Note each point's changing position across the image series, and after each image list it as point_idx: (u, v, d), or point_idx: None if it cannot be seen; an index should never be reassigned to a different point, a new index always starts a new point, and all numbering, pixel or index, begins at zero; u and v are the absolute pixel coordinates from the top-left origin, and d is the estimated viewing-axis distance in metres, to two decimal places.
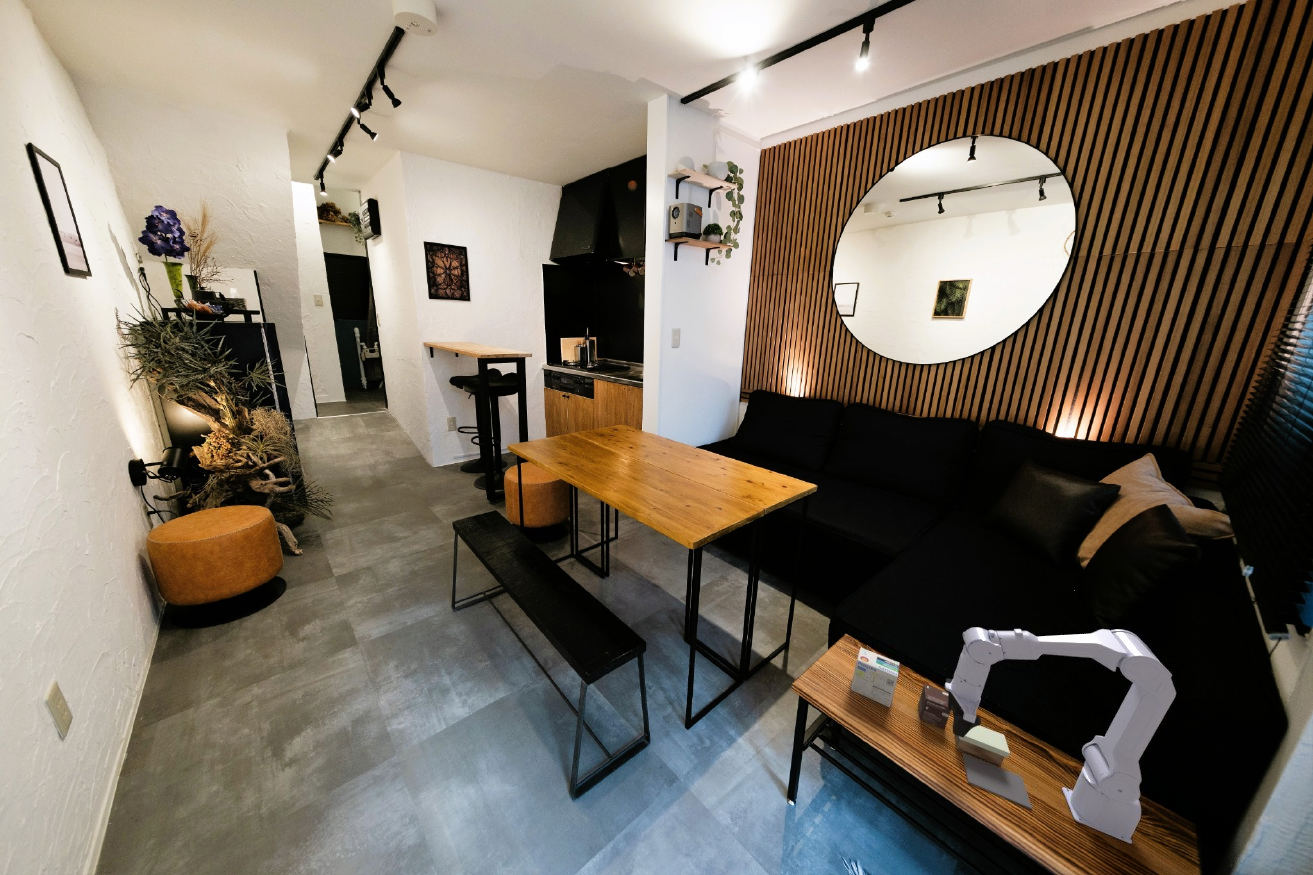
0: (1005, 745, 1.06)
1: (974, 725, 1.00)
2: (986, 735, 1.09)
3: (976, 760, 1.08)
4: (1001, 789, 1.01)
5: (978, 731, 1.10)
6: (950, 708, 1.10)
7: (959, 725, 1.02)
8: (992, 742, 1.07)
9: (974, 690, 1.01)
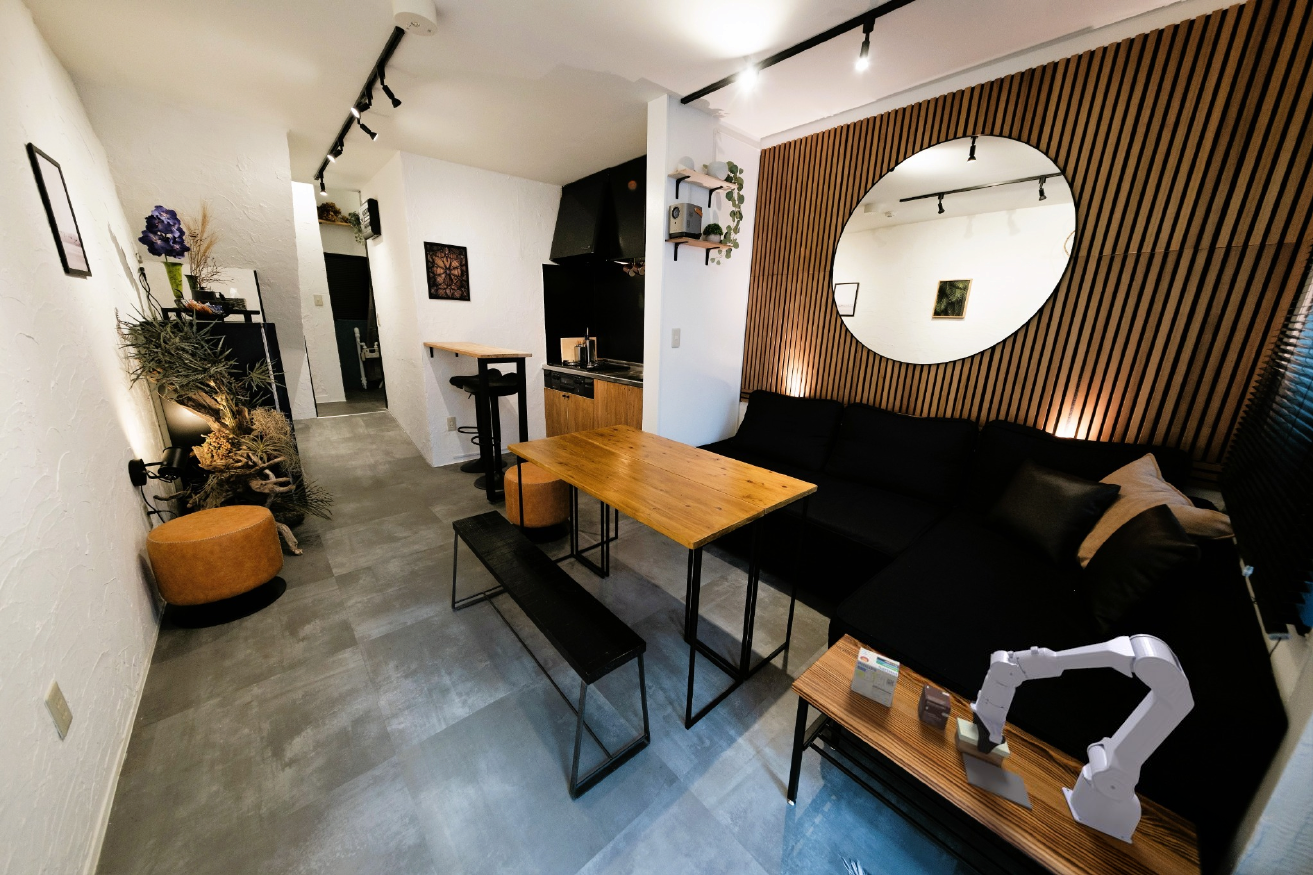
0: (1005, 745, 1.06)
1: (999, 743, 1.03)
2: None
3: (976, 760, 1.08)
4: (1001, 789, 1.01)
5: None
6: None
7: (984, 743, 1.06)
8: None
9: (999, 712, 1.04)
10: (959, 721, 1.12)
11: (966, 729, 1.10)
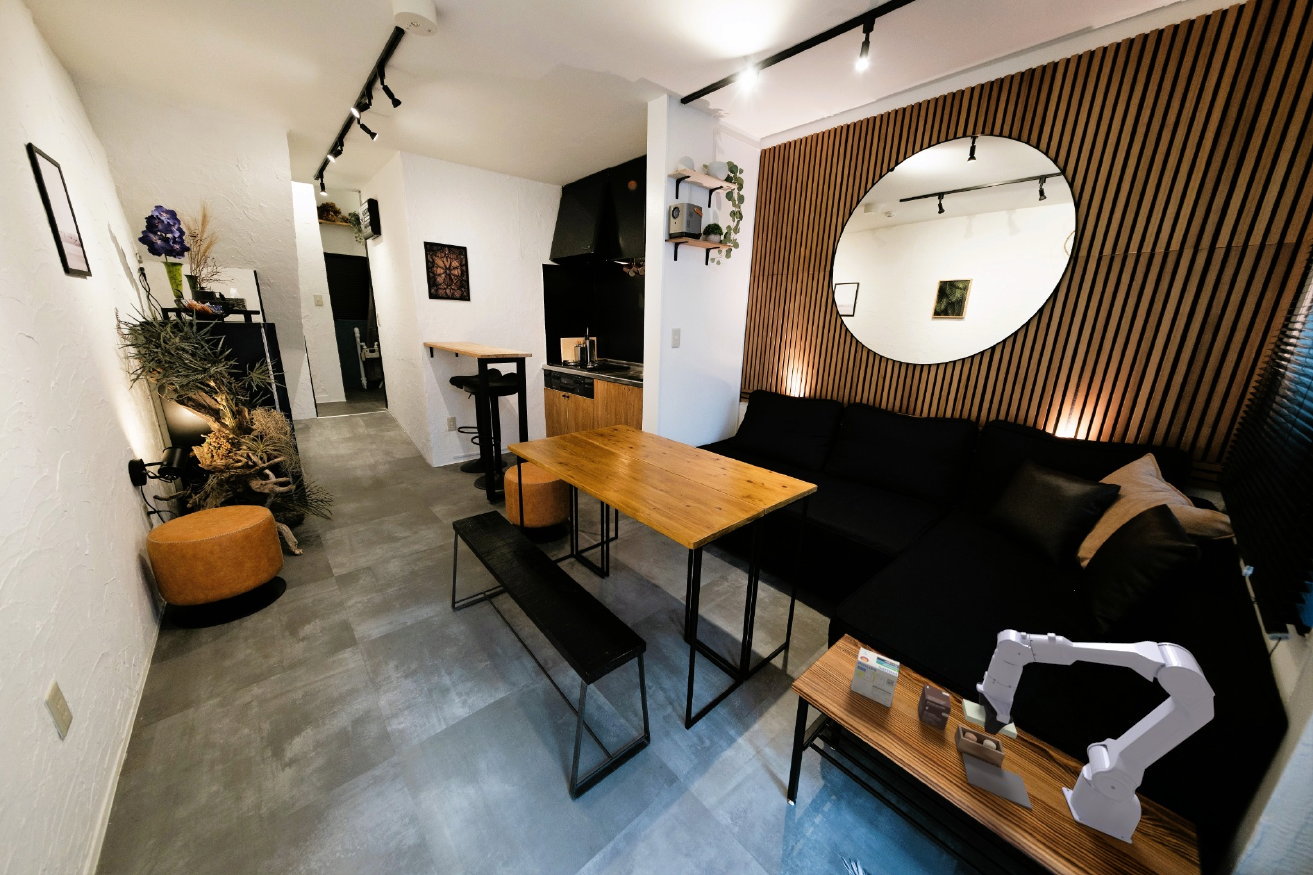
0: (1013, 726, 1.05)
1: (1006, 723, 1.02)
2: None
3: (976, 760, 1.08)
4: (1001, 789, 1.01)
5: (984, 713, 1.08)
6: None
7: (991, 723, 1.04)
8: None
9: (1007, 692, 1.02)
10: (965, 703, 1.11)
11: (972, 710, 1.09)
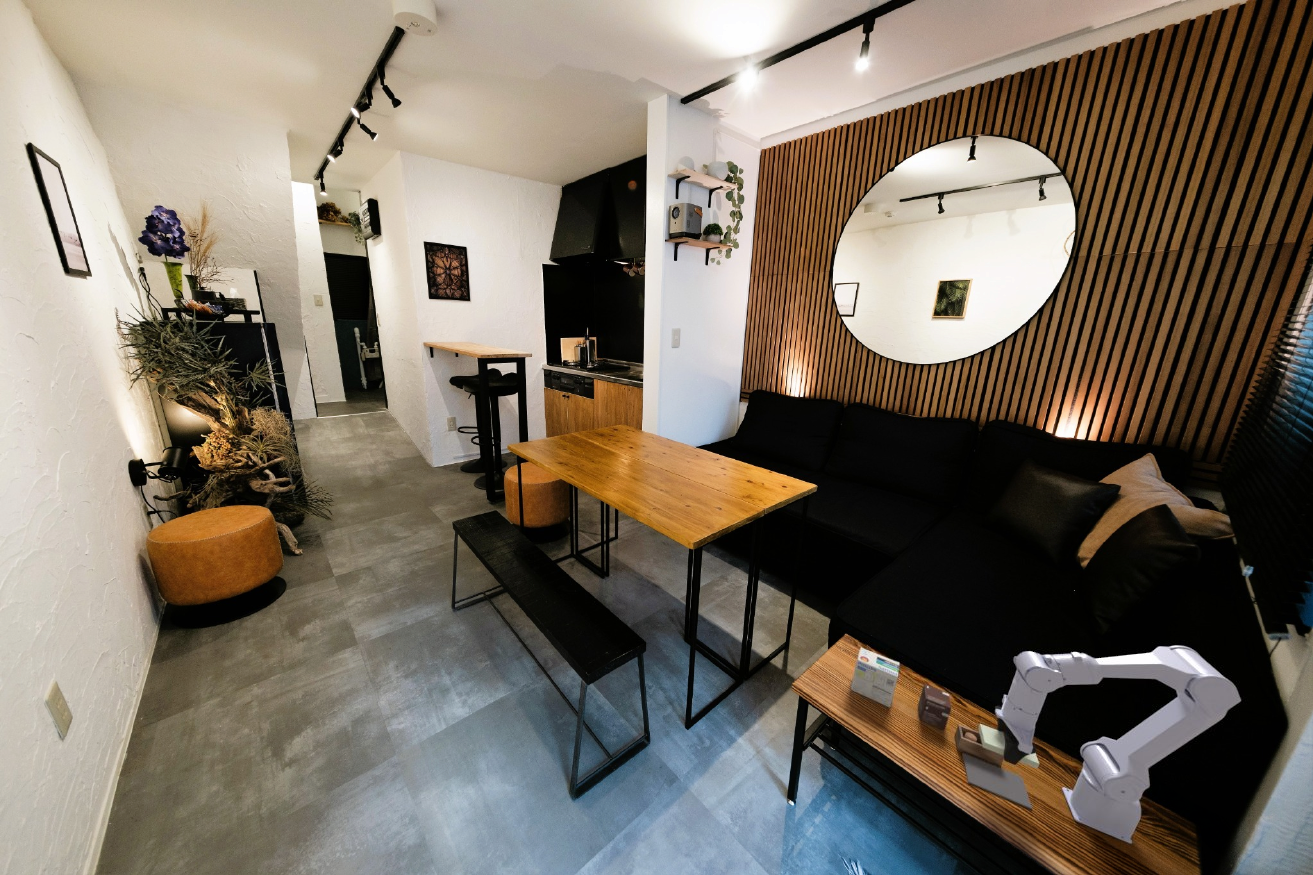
0: (1034, 755, 0.98)
1: None
2: None
3: (976, 760, 1.08)
4: (1001, 789, 1.01)
5: (1003, 739, 1.01)
6: None
7: (1011, 752, 0.97)
8: None
9: (1029, 719, 0.95)
10: (982, 728, 1.04)
11: (990, 736, 1.02)
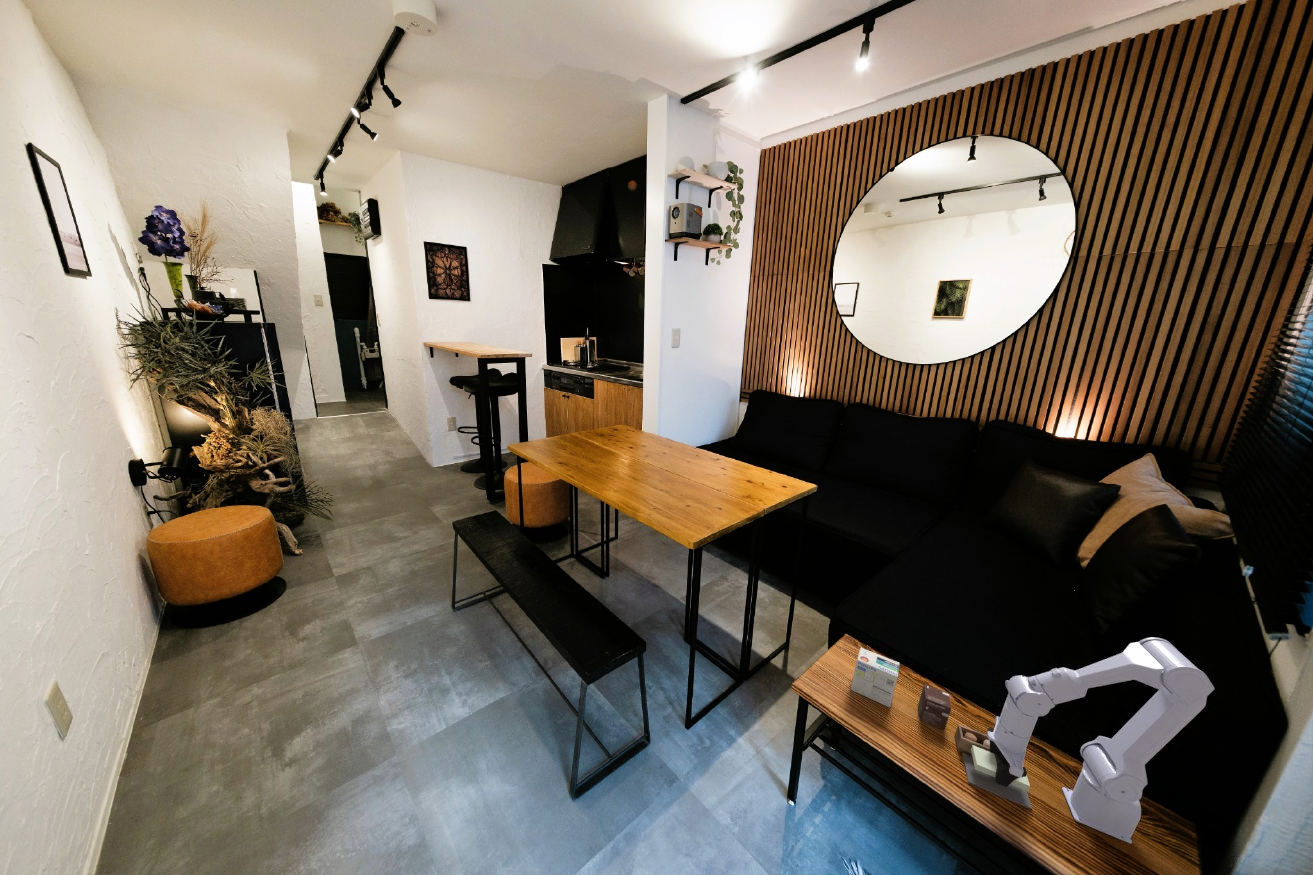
0: (1025, 777, 1.00)
1: None
2: None
3: None
4: (1001, 789, 1.01)
5: (995, 761, 1.03)
6: None
7: (1003, 774, 0.99)
8: None
9: (1020, 742, 0.97)
10: (975, 749, 1.06)
11: (982, 758, 1.04)
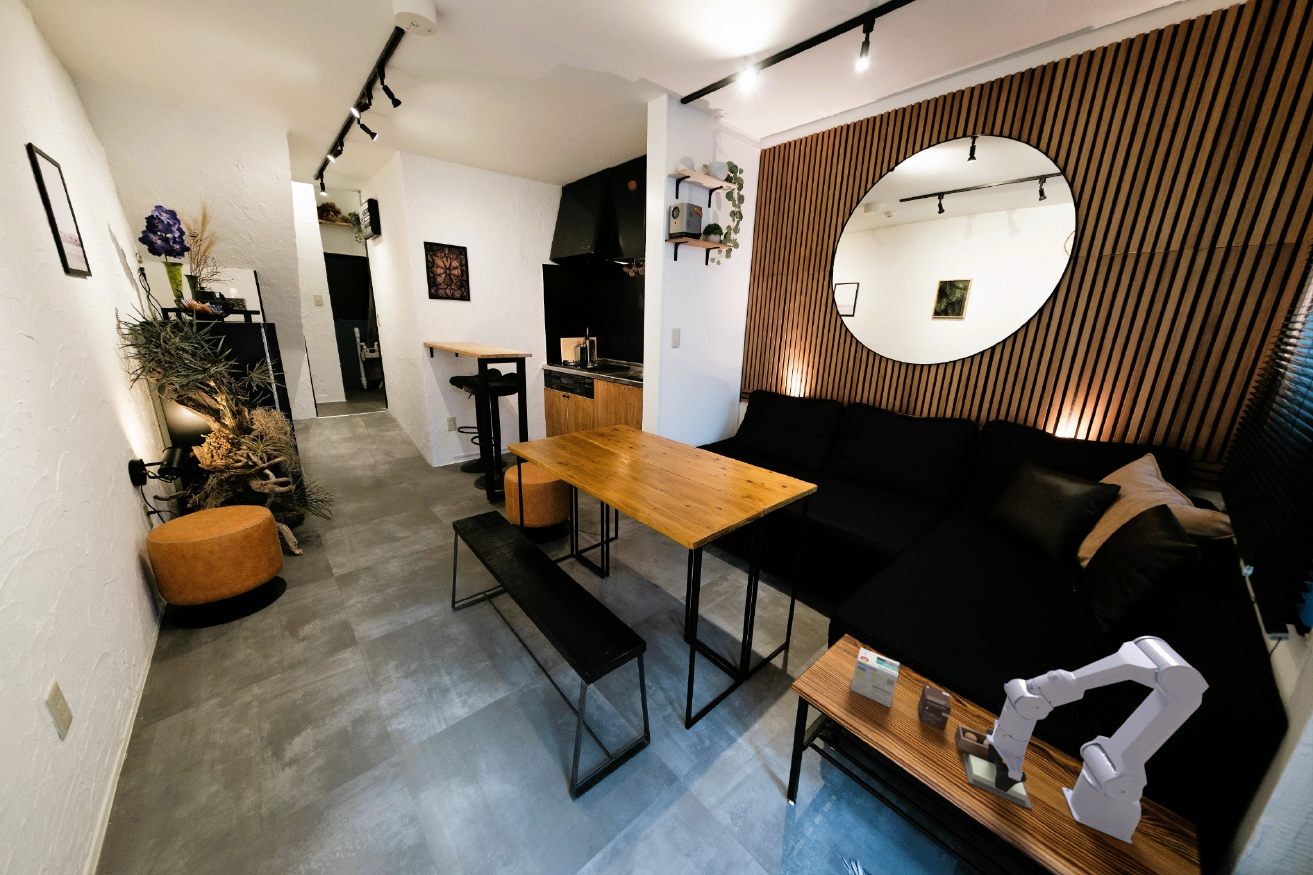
0: (1021, 787, 1.01)
1: (1019, 781, 0.96)
2: None
3: None
4: None
5: (992, 770, 1.04)
6: (990, 760, 1.06)
7: (1002, 779, 0.99)
8: None
9: (1019, 746, 0.97)
10: (971, 758, 1.06)
11: (979, 767, 1.04)
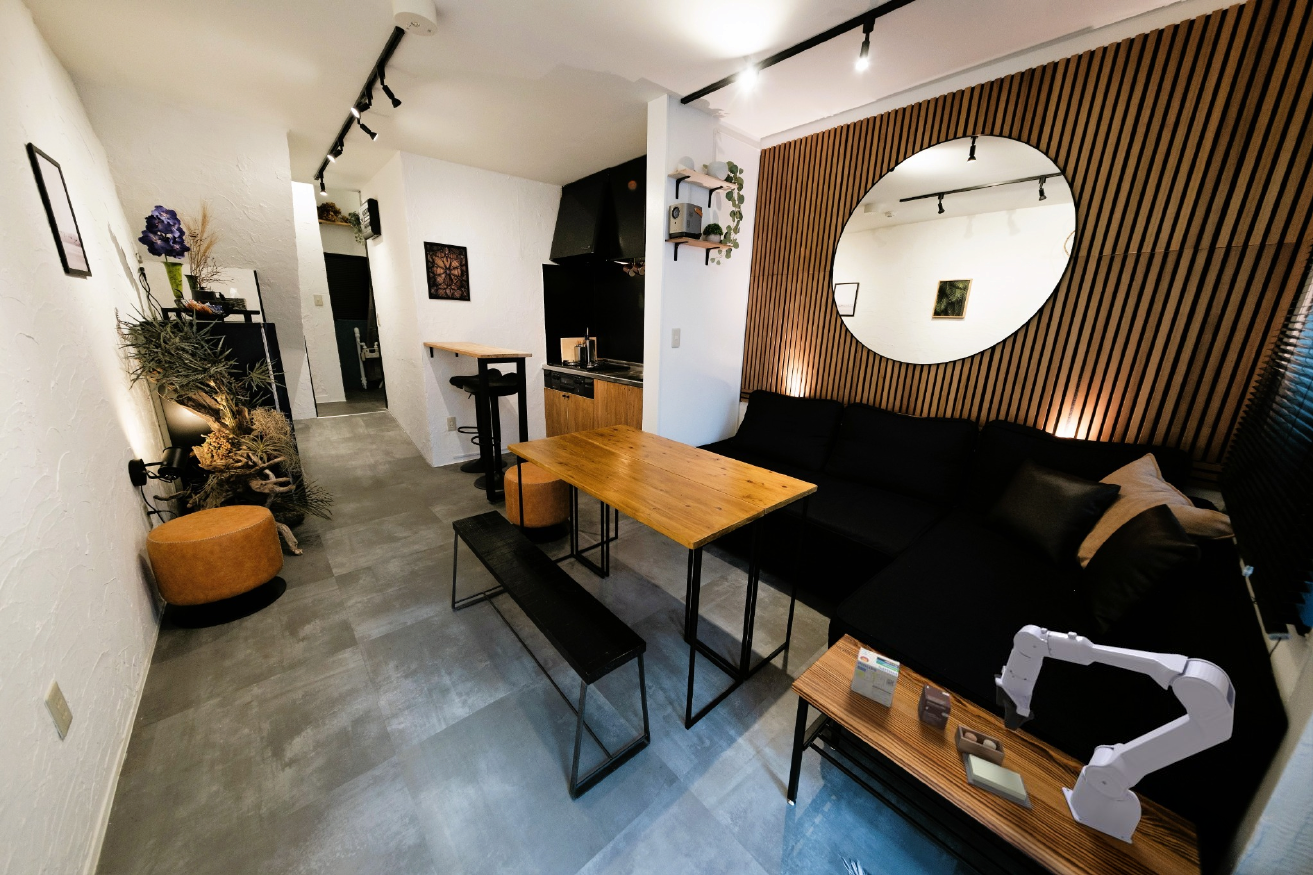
0: (1021, 787, 1.01)
1: (1027, 719, 1.03)
2: (1000, 775, 1.03)
3: None
4: None
5: (992, 770, 1.04)
6: (999, 703, 1.13)
7: (1011, 719, 1.05)
8: (1007, 783, 1.01)
9: (1026, 685, 1.04)
10: (971, 758, 1.06)
11: (979, 767, 1.04)
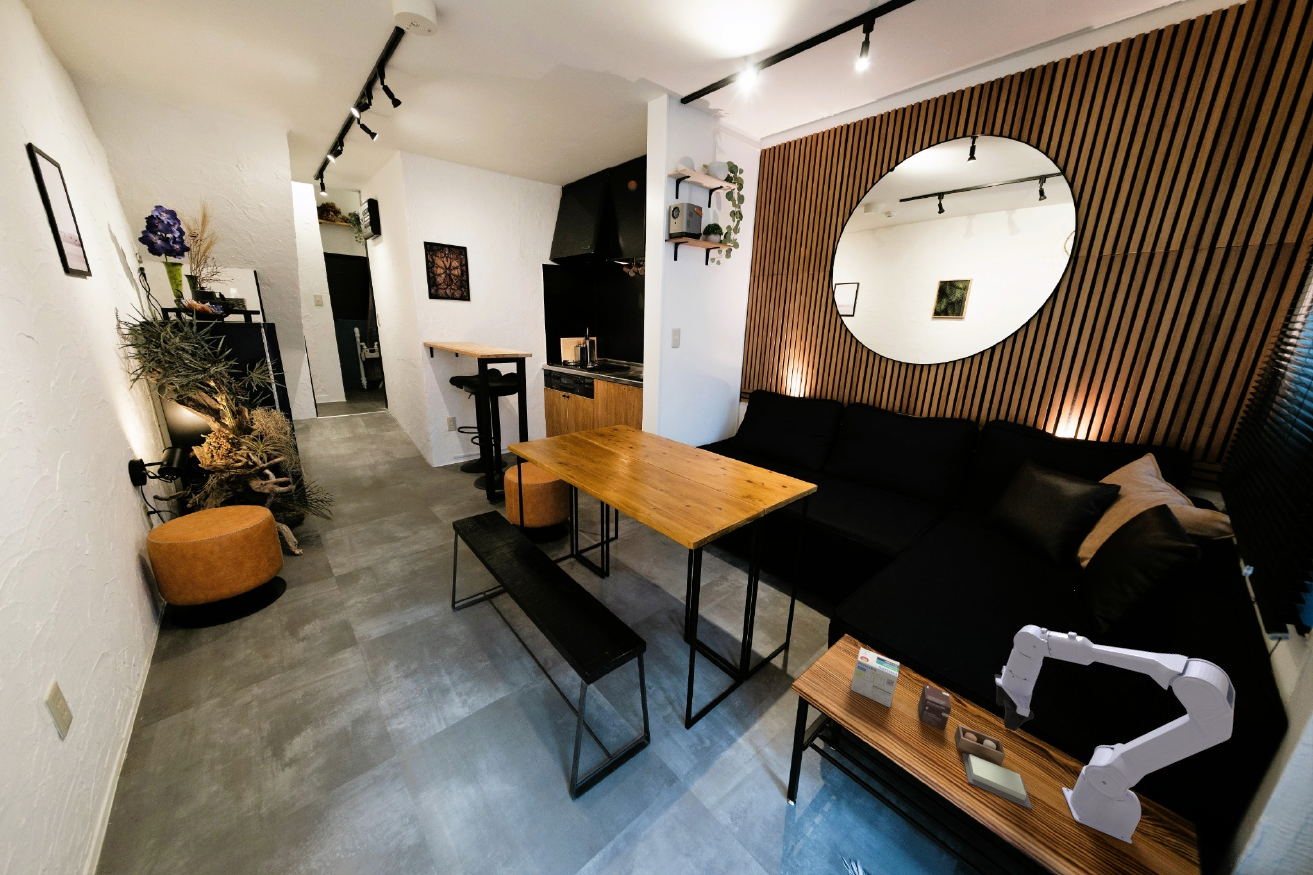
0: (1021, 787, 1.01)
1: (1027, 719, 1.03)
2: (1000, 775, 1.03)
3: None
4: None
5: (992, 770, 1.04)
6: (999, 703, 1.13)
7: (1011, 719, 1.05)
8: (1007, 783, 1.01)
9: (1026, 685, 1.04)
10: (971, 758, 1.06)
11: (979, 767, 1.04)
